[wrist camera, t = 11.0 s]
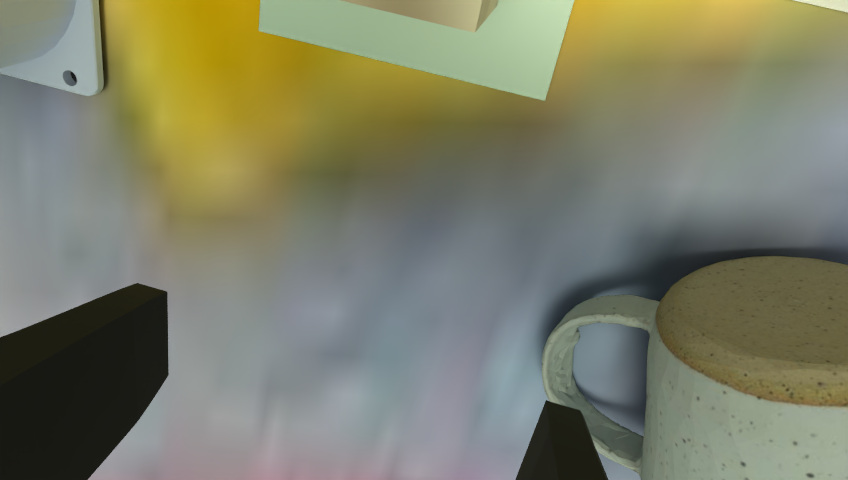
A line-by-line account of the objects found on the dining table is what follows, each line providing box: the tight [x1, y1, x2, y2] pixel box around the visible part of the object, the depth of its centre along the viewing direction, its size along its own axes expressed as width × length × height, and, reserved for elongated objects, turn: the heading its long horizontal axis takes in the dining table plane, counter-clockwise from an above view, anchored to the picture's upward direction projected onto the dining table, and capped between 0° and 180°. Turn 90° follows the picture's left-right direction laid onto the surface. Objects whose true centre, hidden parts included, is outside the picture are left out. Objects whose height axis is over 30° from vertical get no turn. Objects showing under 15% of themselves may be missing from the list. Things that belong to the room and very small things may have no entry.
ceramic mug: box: [542, 256, 848, 480], centre depth 18 cm, size 11×8×8 cm
